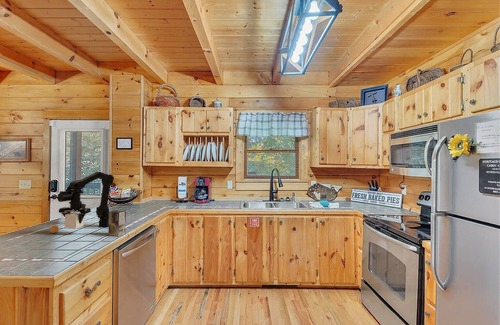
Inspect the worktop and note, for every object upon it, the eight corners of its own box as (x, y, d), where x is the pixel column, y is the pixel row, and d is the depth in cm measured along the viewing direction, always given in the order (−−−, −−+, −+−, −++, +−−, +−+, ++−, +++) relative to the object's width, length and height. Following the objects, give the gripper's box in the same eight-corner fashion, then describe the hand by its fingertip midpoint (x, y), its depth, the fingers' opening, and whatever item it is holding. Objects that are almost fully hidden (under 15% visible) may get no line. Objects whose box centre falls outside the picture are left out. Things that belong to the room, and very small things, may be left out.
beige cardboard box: (83, 225, 182) (84, 213, 182) (75, 228, 174) (76, 215, 174) (72, 225, 182) (73, 212, 182) (64, 227, 174) (65, 214, 174)
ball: (54, 233, 181) (61, 230, 181) (49, 234, 176) (56, 232, 176) (52, 226, 181) (59, 223, 181) (46, 227, 176) (53, 225, 176)
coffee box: (125, 234, 182) (126, 211, 182) (118, 236, 176) (119, 212, 176) (115, 232, 185) (116, 209, 185) (107, 234, 179) (108, 211, 179)
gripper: (96, 199, 186) (95, 220, 186) (70, 198, 187) (69, 219, 187) (86, 201, 175) (85, 224, 175) (58, 200, 175) (57, 223, 175)
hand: (74, 223), depth 178 cm, fingers closed on beige cardboard box, 8 cm apart
